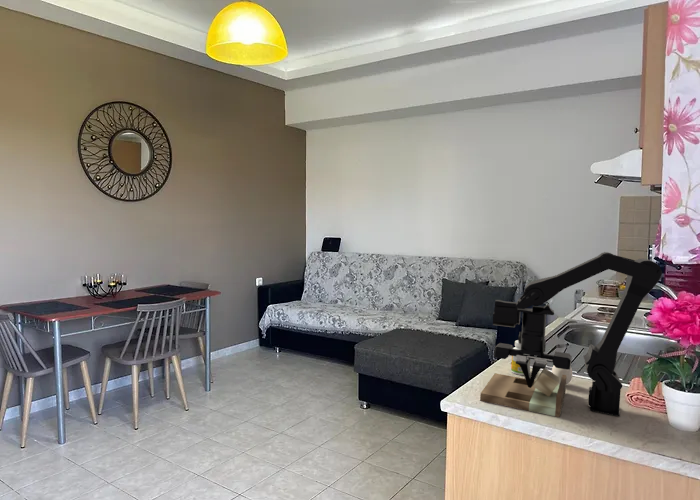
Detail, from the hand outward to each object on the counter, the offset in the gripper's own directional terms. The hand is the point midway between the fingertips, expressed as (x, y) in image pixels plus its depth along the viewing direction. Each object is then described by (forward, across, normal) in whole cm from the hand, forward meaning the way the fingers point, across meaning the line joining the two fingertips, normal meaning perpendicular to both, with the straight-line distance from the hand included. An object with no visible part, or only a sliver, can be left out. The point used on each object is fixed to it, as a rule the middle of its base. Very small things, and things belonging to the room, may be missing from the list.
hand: (529, 387), depth 126 cm
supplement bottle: (+3, +5, -20) cm, 21 cm away
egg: (+3, -7, -15) cm, 17 cm away
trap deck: (+3, +1, 0) cm, 3 cm away
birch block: (0, -3, 0) cm, 3 cm away
